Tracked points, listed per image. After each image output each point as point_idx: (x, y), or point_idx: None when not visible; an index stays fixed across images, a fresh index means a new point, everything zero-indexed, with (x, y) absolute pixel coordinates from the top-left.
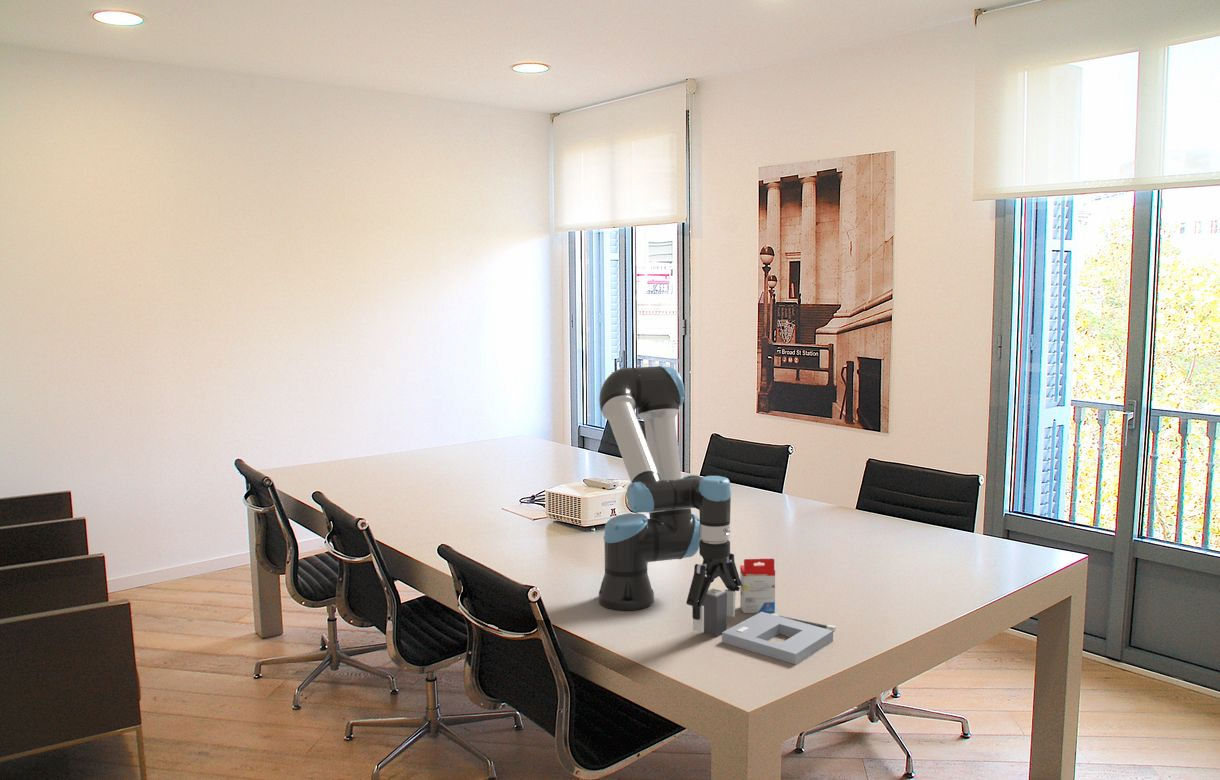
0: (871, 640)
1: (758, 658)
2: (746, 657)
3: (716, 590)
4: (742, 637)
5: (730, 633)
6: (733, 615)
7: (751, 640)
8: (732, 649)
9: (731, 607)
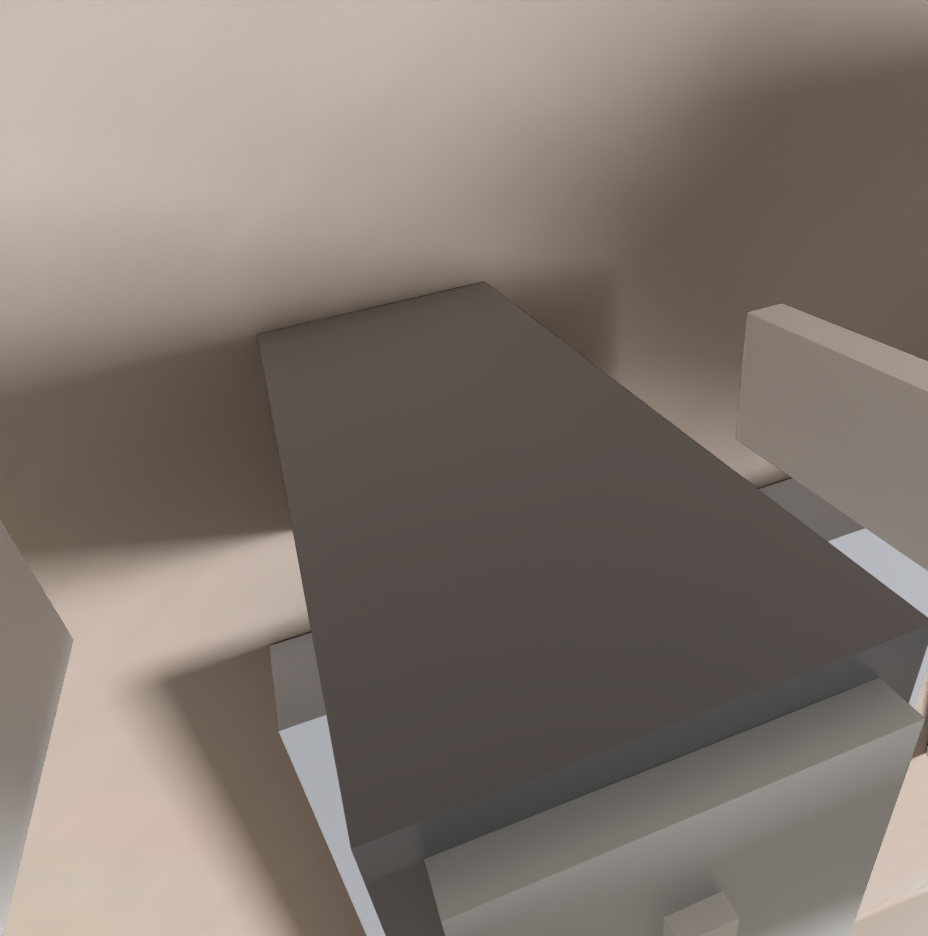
0: (891, 865)
1: (297, 928)
2: (231, 906)
3: (818, 873)
4: (357, 868)
5: (333, 777)
6: (751, 448)
7: (372, 921)
8: (241, 782)
9: (826, 472)
